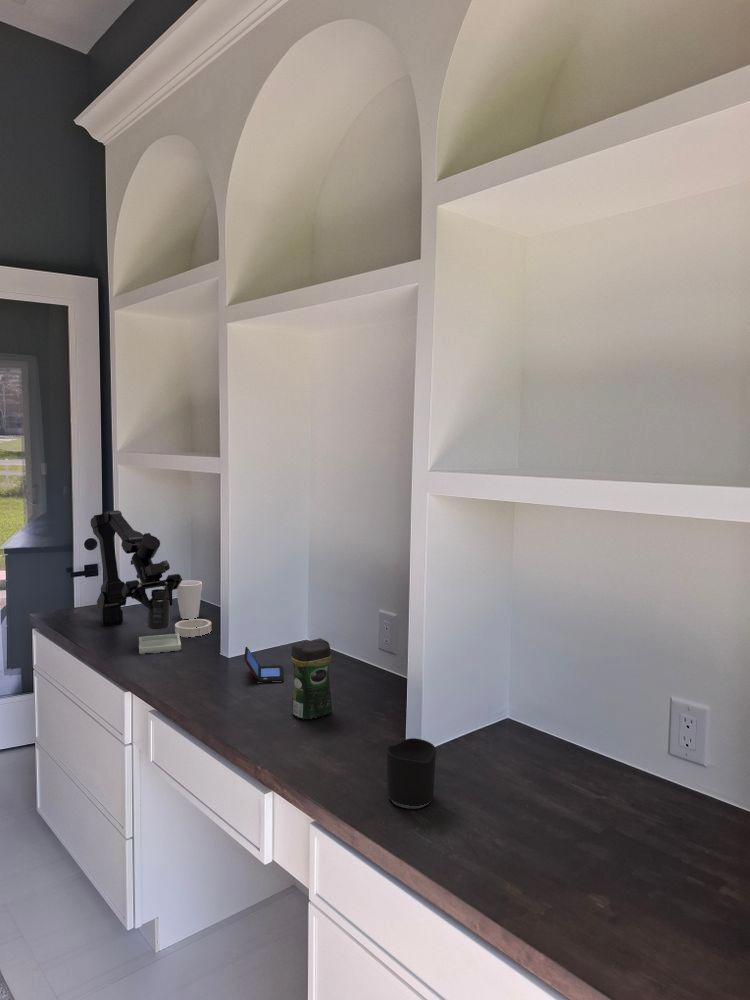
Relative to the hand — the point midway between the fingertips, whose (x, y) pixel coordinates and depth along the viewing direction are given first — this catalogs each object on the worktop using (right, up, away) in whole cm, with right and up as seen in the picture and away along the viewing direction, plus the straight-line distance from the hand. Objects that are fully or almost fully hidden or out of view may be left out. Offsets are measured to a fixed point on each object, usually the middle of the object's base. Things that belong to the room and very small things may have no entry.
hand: (161, 607), depth 226 cm
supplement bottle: (-1, -7, +1) cm, 7 cm away
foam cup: (-1, -10, +37) cm, 38 cm away
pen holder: (+75, -23, -90) cm, 119 cm away
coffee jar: (+52, -19, -50) cm, 75 cm away
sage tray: (-1, -13, +2) cm, 13 cm away
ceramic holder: (+6, -11, +18) cm, 22 cm away
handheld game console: (+36, -17, -24) cm, 46 cm away
